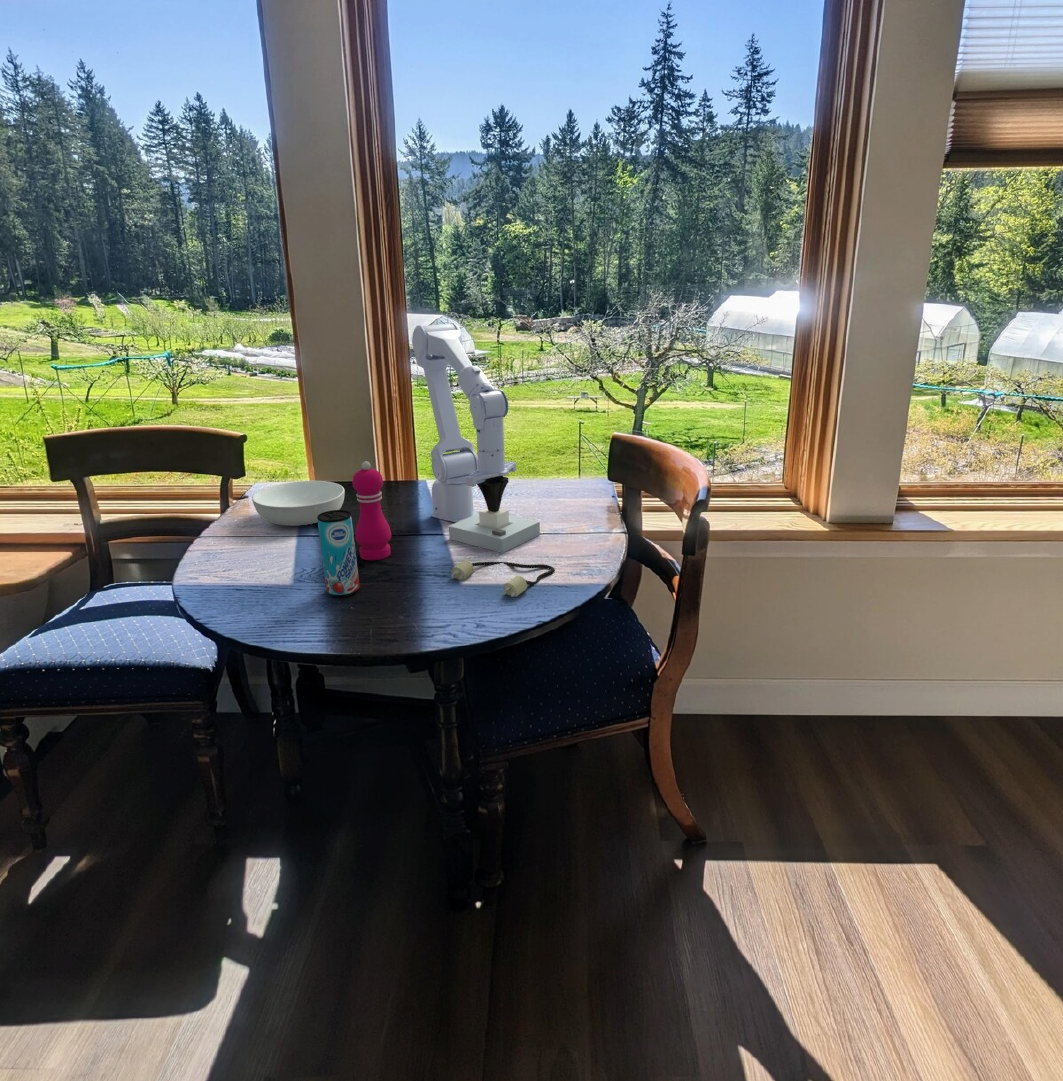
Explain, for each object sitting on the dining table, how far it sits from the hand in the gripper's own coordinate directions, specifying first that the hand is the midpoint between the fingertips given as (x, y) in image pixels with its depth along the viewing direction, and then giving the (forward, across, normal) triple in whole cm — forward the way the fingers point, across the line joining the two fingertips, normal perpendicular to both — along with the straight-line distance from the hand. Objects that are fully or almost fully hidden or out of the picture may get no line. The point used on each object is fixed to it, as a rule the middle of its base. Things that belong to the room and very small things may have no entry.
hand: (493, 510), depth 163 cm
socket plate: (+6, 0, 0) cm, 6 cm away
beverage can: (+6, -38, +5) cm, 39 cm away
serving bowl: (+6, -16, +46) cm, 49 cm away
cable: (+7, -16, -15) cm, 23 cm away
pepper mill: (+6, -22, +14) cm, 27 cm away
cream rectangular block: (+6, 0, 0) cm, 6 cm away
